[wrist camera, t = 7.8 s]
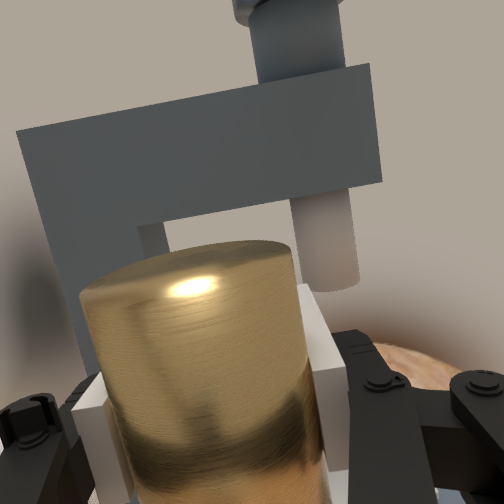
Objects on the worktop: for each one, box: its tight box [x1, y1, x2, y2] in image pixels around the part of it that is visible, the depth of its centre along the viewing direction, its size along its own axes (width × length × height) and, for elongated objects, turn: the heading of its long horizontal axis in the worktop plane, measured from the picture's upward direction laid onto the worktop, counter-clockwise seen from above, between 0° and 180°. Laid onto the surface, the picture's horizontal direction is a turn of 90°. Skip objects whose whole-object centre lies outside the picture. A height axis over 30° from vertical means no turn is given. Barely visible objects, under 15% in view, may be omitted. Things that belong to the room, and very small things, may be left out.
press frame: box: [16, 0, 466, 504], centre depth 26 cm, size 22×12×32 cm, turn 90°
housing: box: [79, 240, 332, 504], centre depth 11 cm, size 5×5×10 cm
